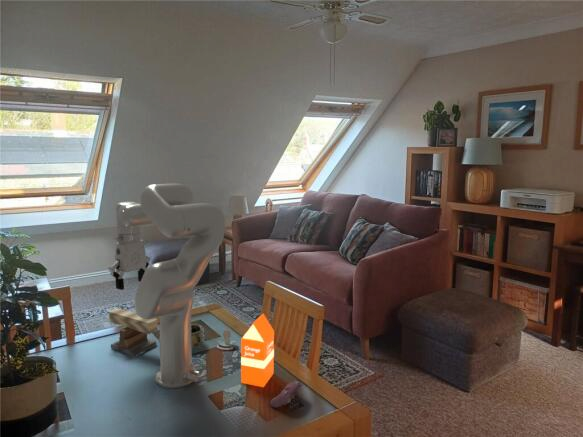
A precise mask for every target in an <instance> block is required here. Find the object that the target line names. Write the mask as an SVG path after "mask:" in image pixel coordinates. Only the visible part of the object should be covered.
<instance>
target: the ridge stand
mask: <svg viewBox="0 0 583 437" xmlns="http://www.w3.org/2000/svg"><path fill="white" fill-rule="evenodd" d="M118 338H119V340H118V341H116V342H112V343H111V344H110V349H111V348H112V350H114V351H117V352H120V353H122V354H126V355H129V356H132V357H137V356H138V354H139V355H141V354H143V353H145V352H147V351H148V349H149V348H150V349H152V348H154V347H157V341H155V340H153V339H149V338H148V334H147V333H143V332H140V331H137V330H134V329H130V328H127V327H124V328H121V329H120V330H119V337H118ZM153 346H154V347H153ZM150 349H149V350H150ZM146 350H147V351H146ZM144 351H145V352H144ZM142 352H143V353H142ZM140 353H141V354H140ZM136 355H137V356H136Z"/></svg>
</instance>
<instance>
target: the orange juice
mask: <svg viewBox="0 0 583 437" xmlns="http://www.w3.org/2000/svg"><path fill="white" fill-rule="evenodd" d="M240 343H241V344H240V345H241V346H240V347H241V348H240V354H241V356H240V378H241V379H240V382H241V383H242V384H246V385H250V386H251V385H252V386H255V387H260V388H264V387H265V386H266V384H267V383H268V382H269V380H270V379H271V377H273V375H274V369H275V368H274V365H275V362H274V361H275V360H274V358H275V330H274V329H273V327H272V325H271V323H270V322H269V320H268V319H267V317H266V315H265V314H264V313H262V314H261V315H259V317H258V318H256V319H255V320H254V321H253V322H252V325H250V327H249V329H248V330H247V331H246V332H245V333H244V334H243V336H242V337H241V339H240Z"/></svg>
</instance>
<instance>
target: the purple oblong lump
mask: <svg viewBox="0 0 583 437" xmlns="http://www.w3.org/2000/svg"><path fill="white" fill-rule="evenodd" d="M302 386H303V384H301V383H300V382H299V381H297V380H294V381H292V382H289V383H287V384H286V385H285V387H284V388H283V390H281V392H280V393H279V394H278V395H277V396H275V397H273V398H272V399H270V401H269V402H270V403H269V404H270V406H271V407H272V408H280V407H281V406H286V405H287V404H289V403H290V402H291V400H293V399H295V396H296V395H297V393H299V391H300V390H301V388H302Z"/></svg>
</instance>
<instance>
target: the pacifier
mask: <svg viewBox="0 0 583 437" xmlns="http://www.w3.org/2000/svg"><path fill="white" fill-rule="evenodd" d="M222 335H223V337H218V338H217V345H216V348H217V349H219V350H221V351H231V350H233V349H234V346H233V345H235V344H236V343H237V342H238V341H237V340H231V337H232V336H231V335H232V332H231V330H230V329H225V330H224V331H223V332H222Z"/></svg>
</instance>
